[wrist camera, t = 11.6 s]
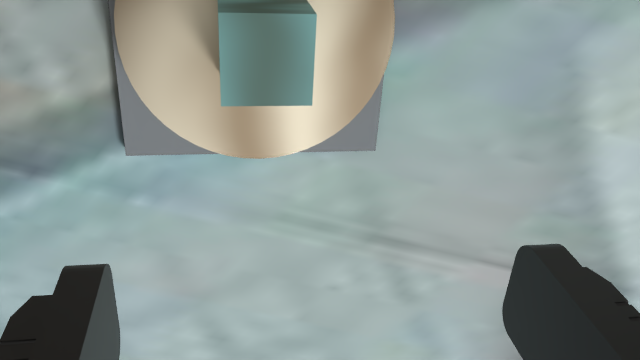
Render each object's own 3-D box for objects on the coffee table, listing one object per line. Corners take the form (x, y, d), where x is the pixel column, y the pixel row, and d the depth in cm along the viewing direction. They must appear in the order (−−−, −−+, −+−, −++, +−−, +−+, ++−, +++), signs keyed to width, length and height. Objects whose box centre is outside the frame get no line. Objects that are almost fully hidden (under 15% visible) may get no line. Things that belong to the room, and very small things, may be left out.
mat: (401, -119, 28) (405, -119, 27) (372, 146, 34) (375, 150, 34) (94, -138, 25) (91, -138, 25) (127, 150, 32) (126, 155, 31)
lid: (403, -115, 27) (445, -110, 22) (375, 146, 34) (402, 195, 29) (100, -133, 25) (73, -132, 20) (132, 151, 31) (117, 205, 26)
